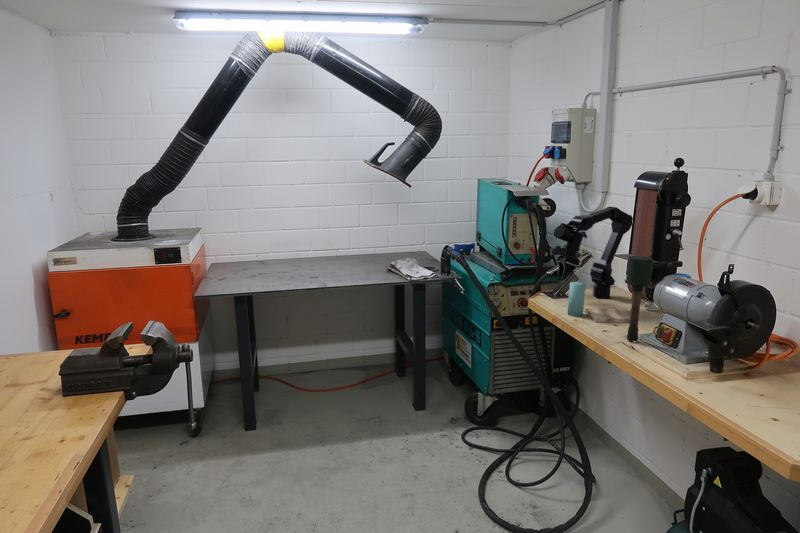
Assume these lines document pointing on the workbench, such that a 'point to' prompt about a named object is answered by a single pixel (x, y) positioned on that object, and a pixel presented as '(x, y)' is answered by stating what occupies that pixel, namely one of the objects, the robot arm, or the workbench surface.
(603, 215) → the robot arm
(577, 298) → the canister
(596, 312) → the board
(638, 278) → the stick grenade
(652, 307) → the pneumatic valve
